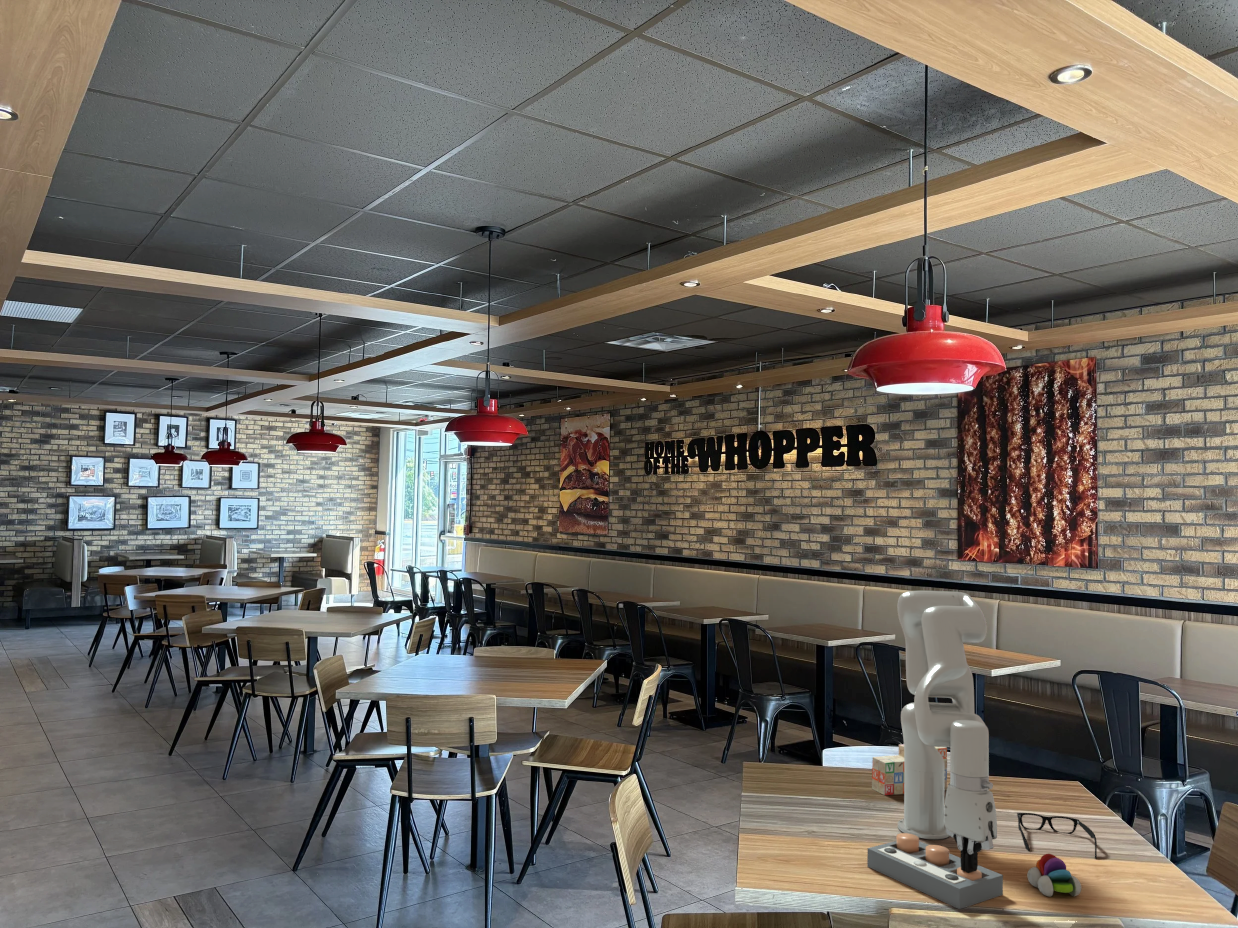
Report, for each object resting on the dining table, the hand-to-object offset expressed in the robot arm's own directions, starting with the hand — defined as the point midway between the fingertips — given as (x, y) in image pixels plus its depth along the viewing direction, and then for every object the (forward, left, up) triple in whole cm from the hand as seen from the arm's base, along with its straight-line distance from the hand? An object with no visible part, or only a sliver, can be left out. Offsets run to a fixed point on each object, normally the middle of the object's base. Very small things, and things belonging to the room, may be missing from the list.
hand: (969, 870), depth 182 cm
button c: (0, 0, -3) cm, 3 cm away
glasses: (-44, -9, -5) cm, 45 cm away
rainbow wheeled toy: (-17, +8, -5) cm, 20 cm away
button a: (0, -16, -1) cm, 16 cm away
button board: (+2, -8, -5) cm, 9 cm away
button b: (0, -8, -1) cm, 8 cm away
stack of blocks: (-46, -54, -5) cm, 71 cm away
